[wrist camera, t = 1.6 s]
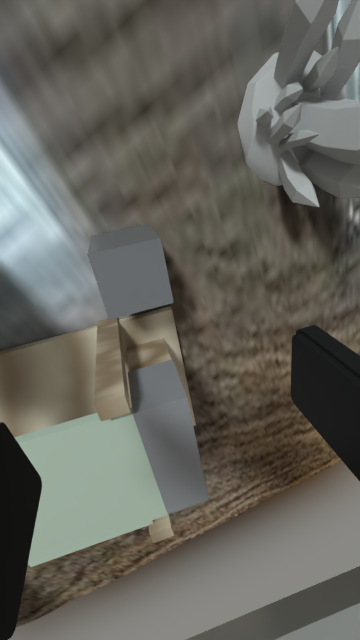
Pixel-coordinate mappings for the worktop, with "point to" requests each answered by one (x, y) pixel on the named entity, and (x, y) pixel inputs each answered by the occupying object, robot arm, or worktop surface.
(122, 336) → the frame
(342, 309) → the worktop surface
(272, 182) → the crystal
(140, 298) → the basalt block
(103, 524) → the trapdoor
